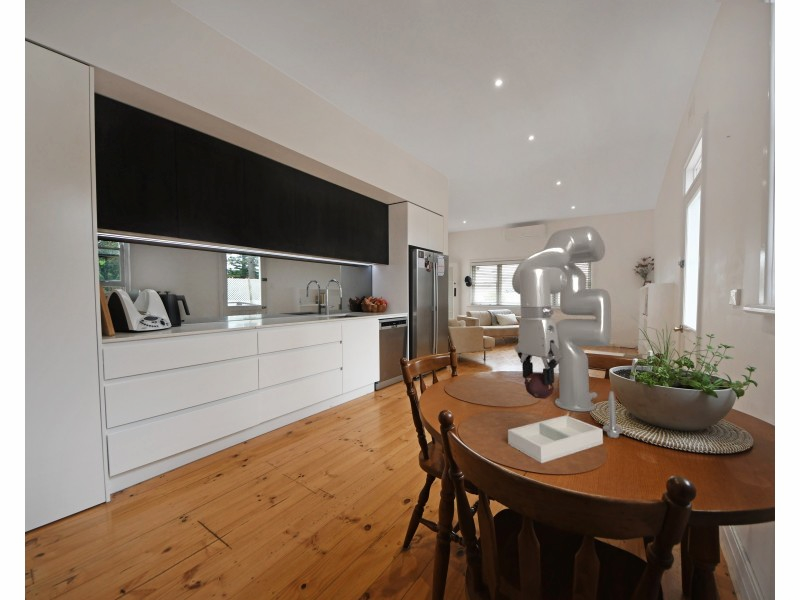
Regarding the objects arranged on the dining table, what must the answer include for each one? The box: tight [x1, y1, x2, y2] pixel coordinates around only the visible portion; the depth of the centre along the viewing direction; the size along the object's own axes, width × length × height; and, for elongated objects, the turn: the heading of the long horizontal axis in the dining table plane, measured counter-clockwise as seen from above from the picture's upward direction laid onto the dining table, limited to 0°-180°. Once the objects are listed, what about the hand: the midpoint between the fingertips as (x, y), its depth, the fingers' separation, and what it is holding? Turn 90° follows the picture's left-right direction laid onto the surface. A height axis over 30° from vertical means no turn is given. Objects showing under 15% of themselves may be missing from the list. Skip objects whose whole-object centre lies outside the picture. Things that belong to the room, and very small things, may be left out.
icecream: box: [524, 372, 555, 400], centre depth 87 cm, size 7×7×15 cm
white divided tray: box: [507, 415, 604, 464], centre depth 89 cm, size 22×12×4 cm, turn 113°
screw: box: [602, 390, 624, 439], centre depth 92 cm, size 13×5×5 cm
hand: (537, 379), depth 87 cm, fingers closed on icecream, 6 cm apart
